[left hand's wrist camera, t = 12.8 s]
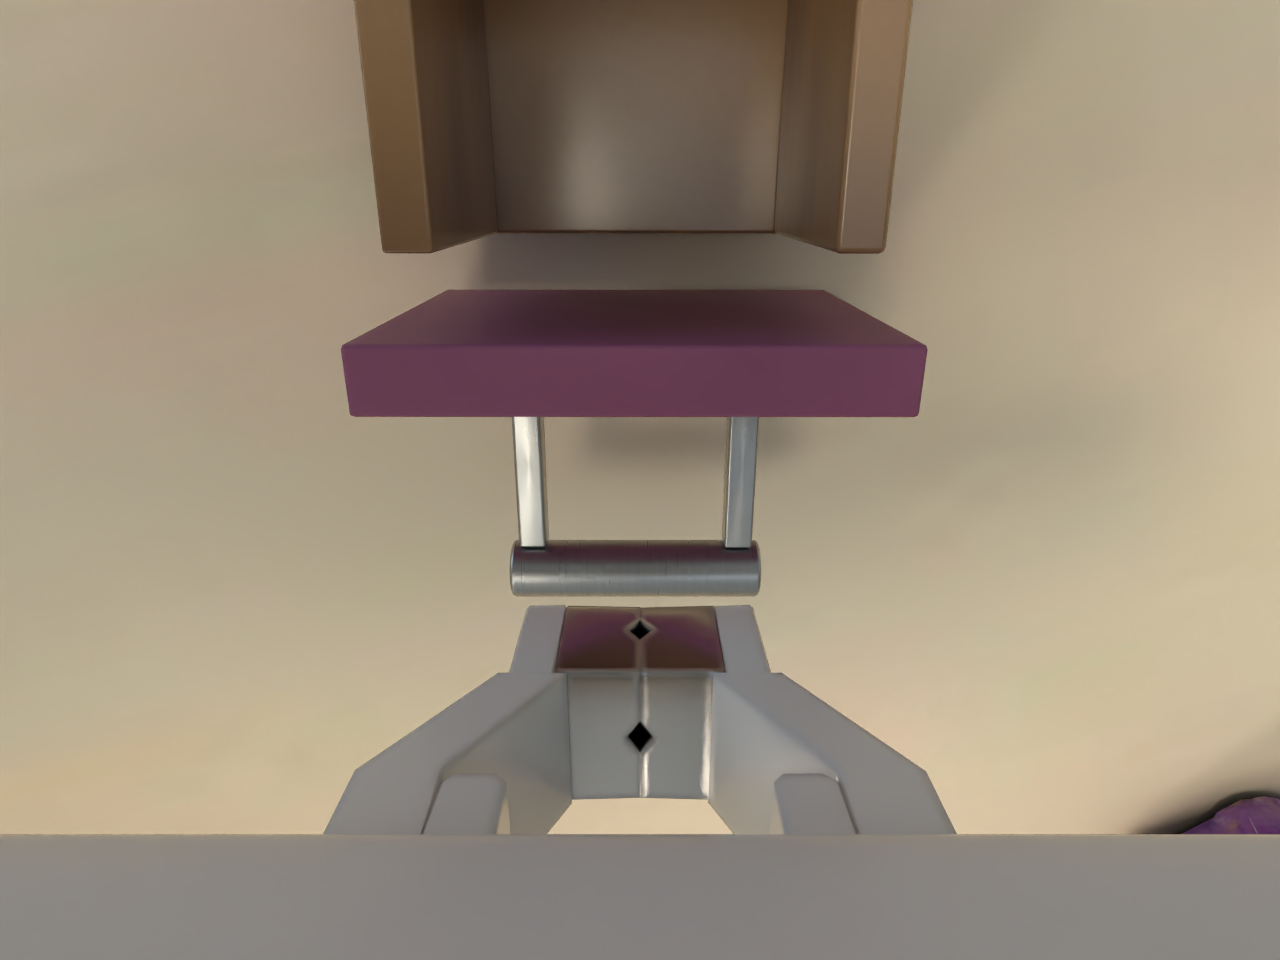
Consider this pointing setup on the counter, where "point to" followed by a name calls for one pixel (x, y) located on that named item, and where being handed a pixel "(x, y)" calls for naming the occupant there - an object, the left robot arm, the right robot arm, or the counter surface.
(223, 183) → the counter surface
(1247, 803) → the figurine
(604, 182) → the drawer
